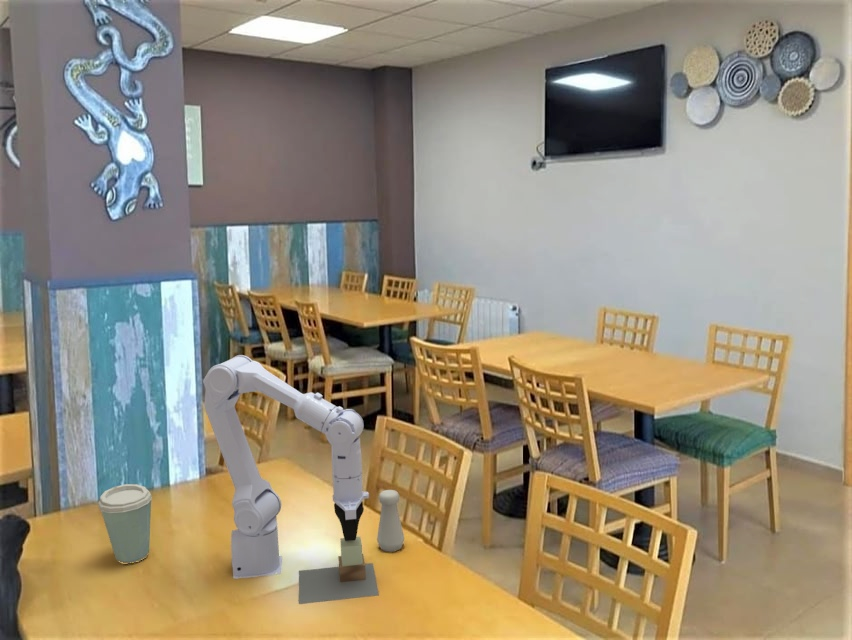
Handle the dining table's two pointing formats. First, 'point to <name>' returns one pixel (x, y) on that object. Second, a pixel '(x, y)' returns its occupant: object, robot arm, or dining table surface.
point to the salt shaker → (390, 522)
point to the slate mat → (334, 585)
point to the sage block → (351, 552)
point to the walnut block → (351, 571)
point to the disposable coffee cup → (127, 520)
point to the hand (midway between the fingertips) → (350, 539)
